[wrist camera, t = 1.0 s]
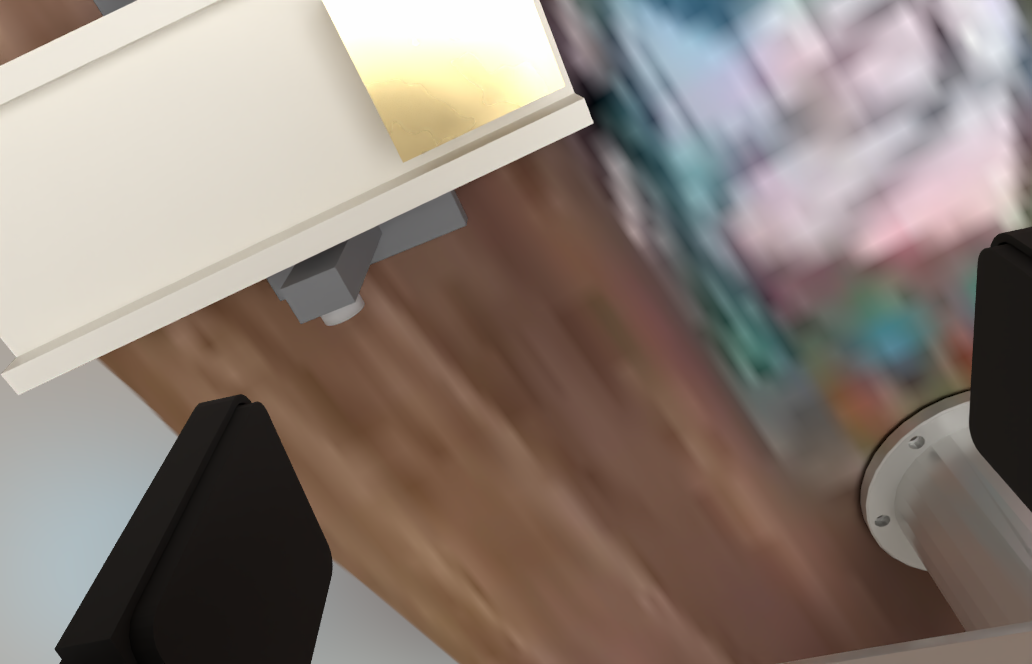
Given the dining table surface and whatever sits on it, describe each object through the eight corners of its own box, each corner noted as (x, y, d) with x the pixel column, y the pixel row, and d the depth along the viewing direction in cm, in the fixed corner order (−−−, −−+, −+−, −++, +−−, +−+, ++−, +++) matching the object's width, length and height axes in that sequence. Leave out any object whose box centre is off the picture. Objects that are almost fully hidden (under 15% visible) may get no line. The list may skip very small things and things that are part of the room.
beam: (462, -139, 31) (485, -167, 26) (555, 100, 36) (593, 123, 30) (-84, 122, 32) (-186, 154, 26) (74, 328, 36) (18, 395, 30)
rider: (481, -80, 28) (498, -89, 24) (541, 73, 30) (565, 85, 27) (326, -6, 28) (320, -4, 24) (398, 141, 30) (403, 162, 27)
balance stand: (284, -167, 31) (213, -193, 23) (467, 218, 38) (457, 292, 31) (71, -56, 33) (-59, -45, 25) (285, 292, 40) (233, 380, 32)
